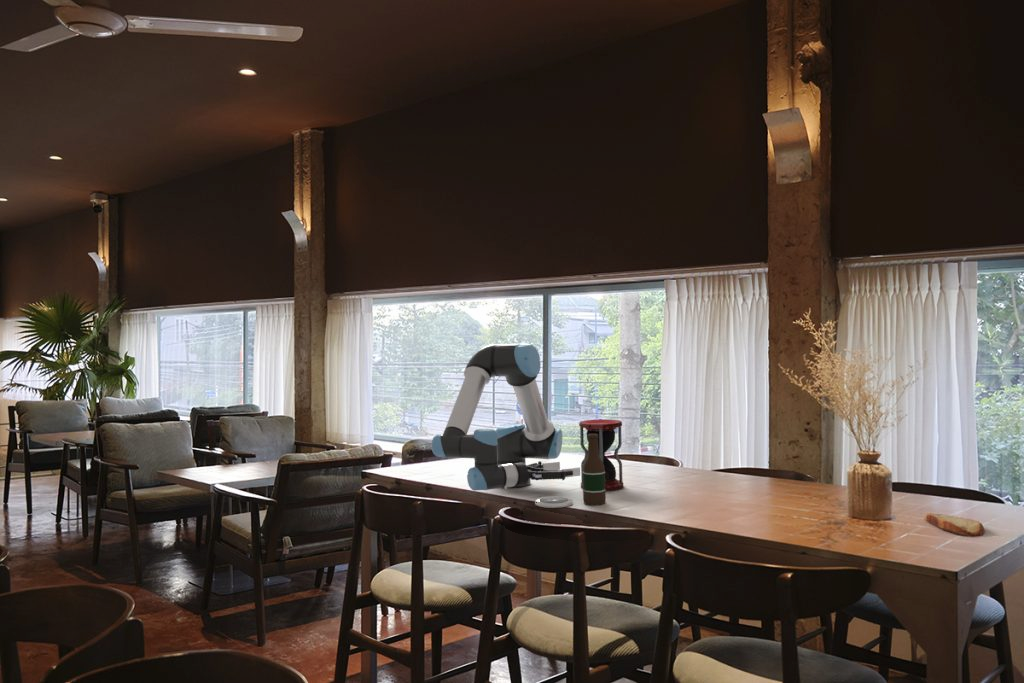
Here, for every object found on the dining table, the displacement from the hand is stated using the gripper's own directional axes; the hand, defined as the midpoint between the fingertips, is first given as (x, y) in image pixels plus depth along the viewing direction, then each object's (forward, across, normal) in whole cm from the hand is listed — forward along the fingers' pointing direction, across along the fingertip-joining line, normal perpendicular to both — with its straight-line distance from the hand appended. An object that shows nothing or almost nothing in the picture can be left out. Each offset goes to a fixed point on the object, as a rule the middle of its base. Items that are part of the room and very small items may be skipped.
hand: (569, 468), depth 280 cm
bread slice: (+80, +84, -14) cm, 117 cm away
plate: (-2, -7, -13) cm, 15 cm away
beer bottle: (+10, 0, -13) cm, 16 cm away
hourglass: (+27, -22, -13) cm, 38 cm away
